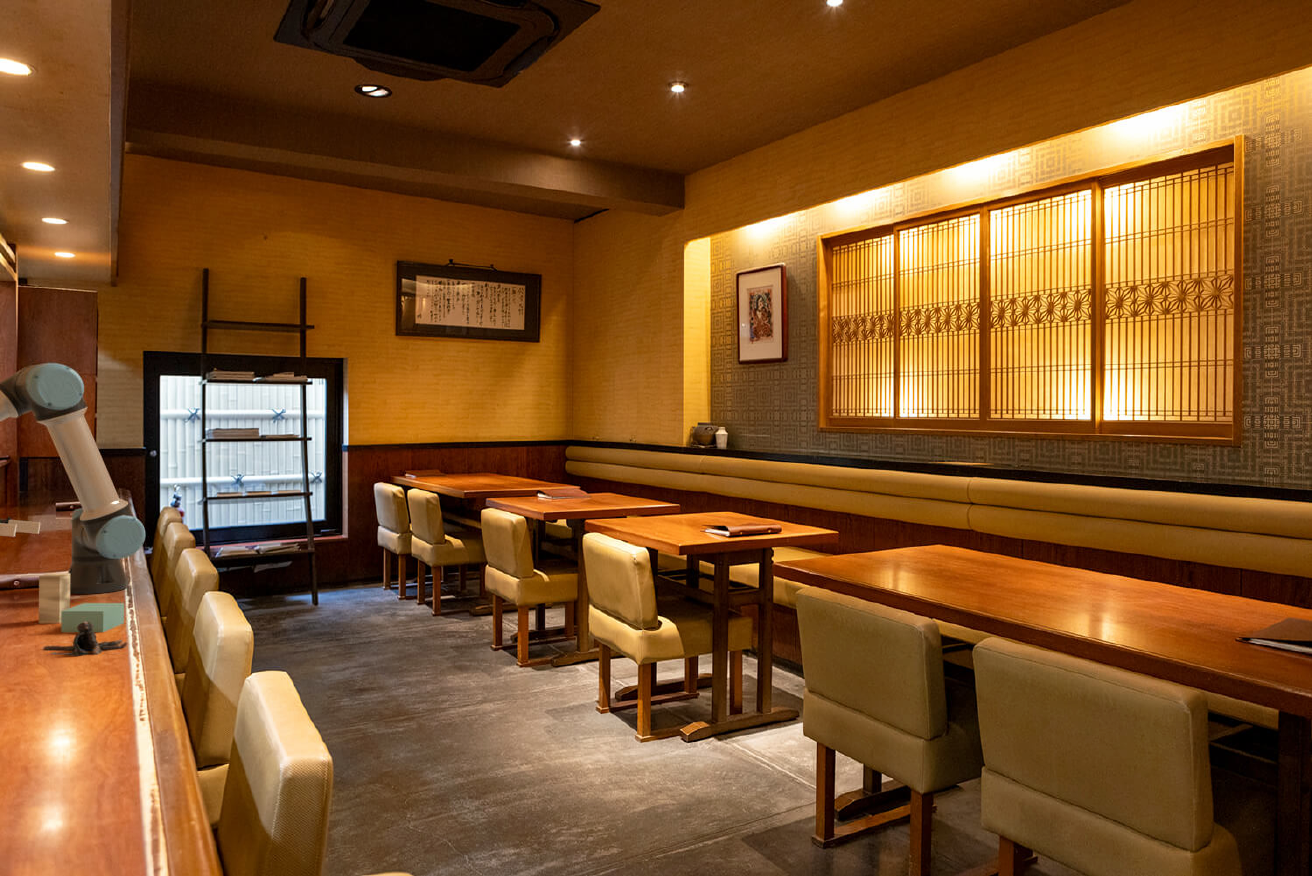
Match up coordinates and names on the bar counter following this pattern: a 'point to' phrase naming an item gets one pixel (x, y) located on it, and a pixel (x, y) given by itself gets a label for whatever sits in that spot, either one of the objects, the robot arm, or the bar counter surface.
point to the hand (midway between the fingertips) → (27, 529)
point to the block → (53, 596)
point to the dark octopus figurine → (86, 643)
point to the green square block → (93, 616)
